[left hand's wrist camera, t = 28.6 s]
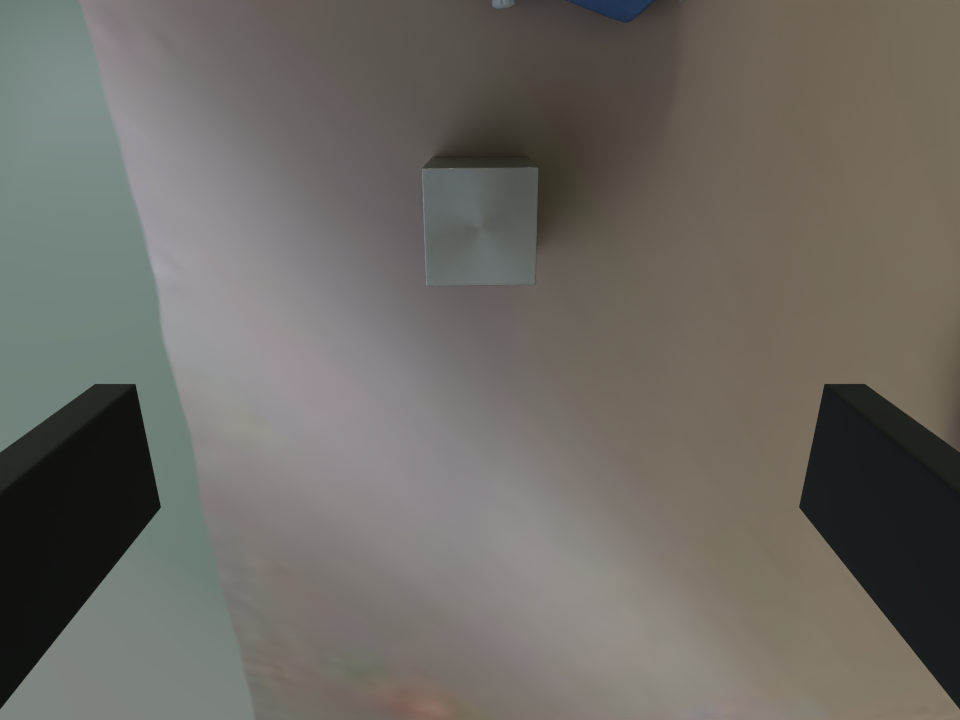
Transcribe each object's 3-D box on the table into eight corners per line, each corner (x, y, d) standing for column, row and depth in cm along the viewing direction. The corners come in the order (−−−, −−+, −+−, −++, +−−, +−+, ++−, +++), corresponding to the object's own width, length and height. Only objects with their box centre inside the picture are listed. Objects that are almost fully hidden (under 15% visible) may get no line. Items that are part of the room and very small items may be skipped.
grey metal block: (435, 255, 44) (426, 286, 37) (432, 157, 42) (421, 168, 34) (526, 254, 44) (535, 285, 37) (528, 156, 42) (538, 167, 34)
